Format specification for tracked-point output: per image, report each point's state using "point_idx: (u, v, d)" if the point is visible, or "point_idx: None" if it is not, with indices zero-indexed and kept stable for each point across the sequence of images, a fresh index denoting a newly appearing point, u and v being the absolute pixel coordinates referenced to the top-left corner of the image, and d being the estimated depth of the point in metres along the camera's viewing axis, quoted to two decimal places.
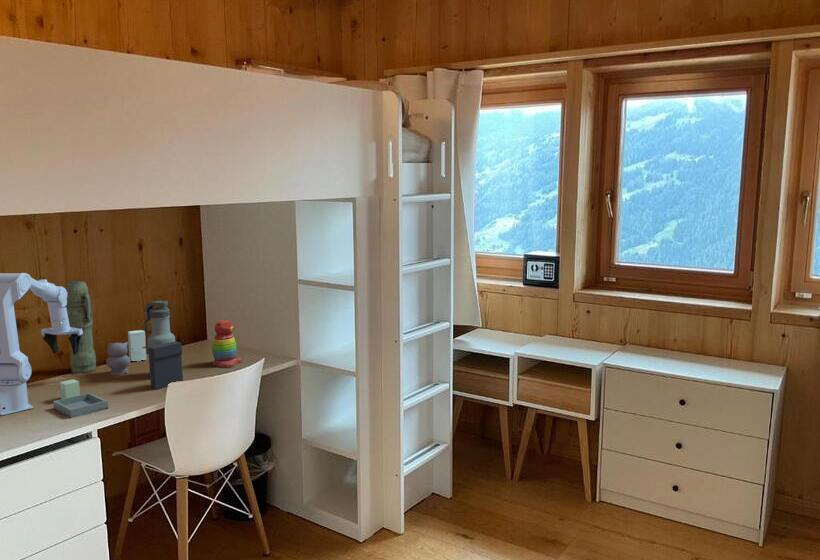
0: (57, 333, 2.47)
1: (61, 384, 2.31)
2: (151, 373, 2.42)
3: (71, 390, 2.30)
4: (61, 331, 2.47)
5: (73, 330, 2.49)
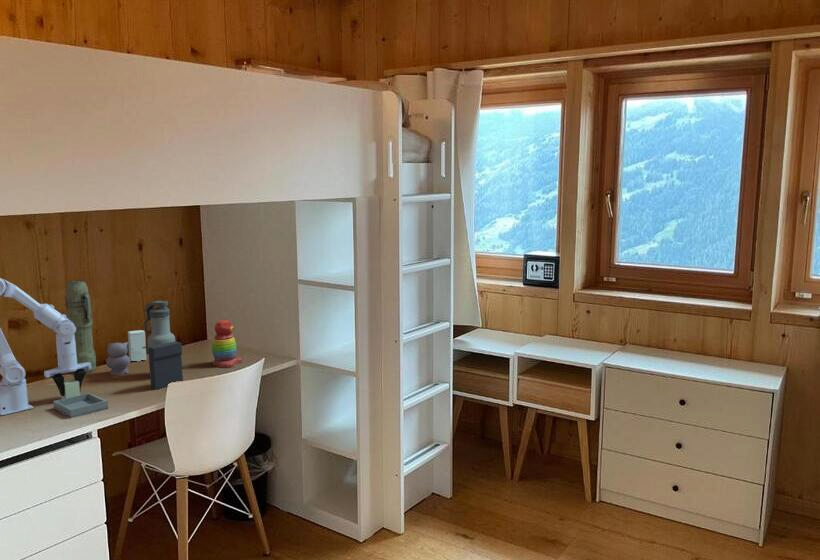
0: None
1: None
2: (151, 373, 2.42)
3: (71, 390, 2.30)
4: None
5: (52, 370, 2.28)
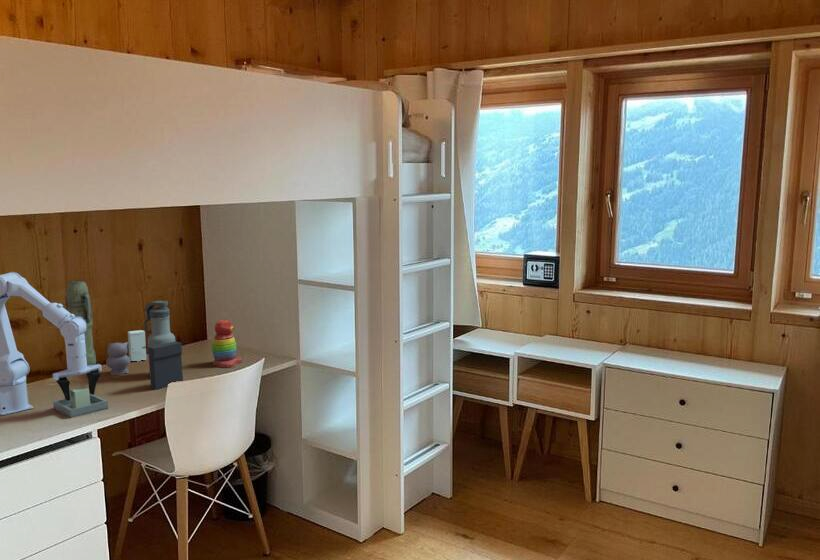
0: None
1: (70, 391, 2.21)
2: (151, 373, 2.42)
3: (80, 398, 2.20)
4: None
5: None
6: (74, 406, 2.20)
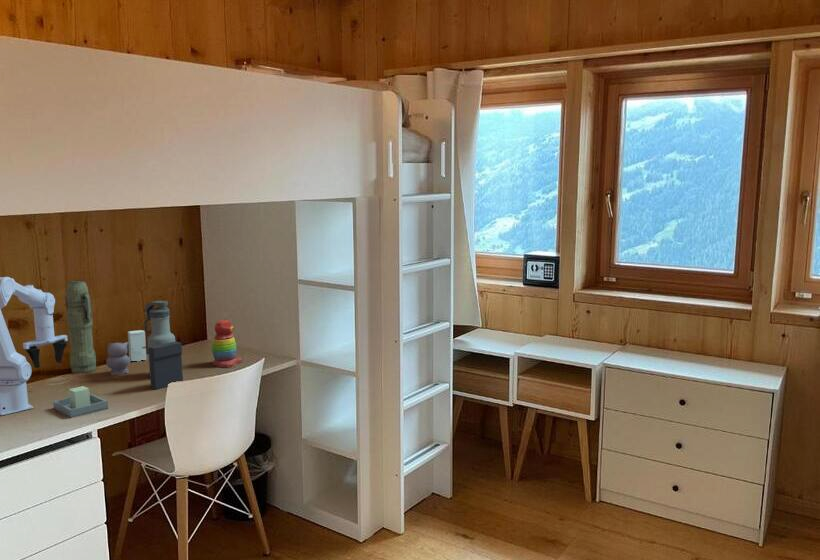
0: None
1: (70, 391, 2.21)
2: (151, 373, 2.42)
3: (80, 398, 2.20)
4: None
5: (31, 342, 2.36)
6: (74, 406, 2.20)
